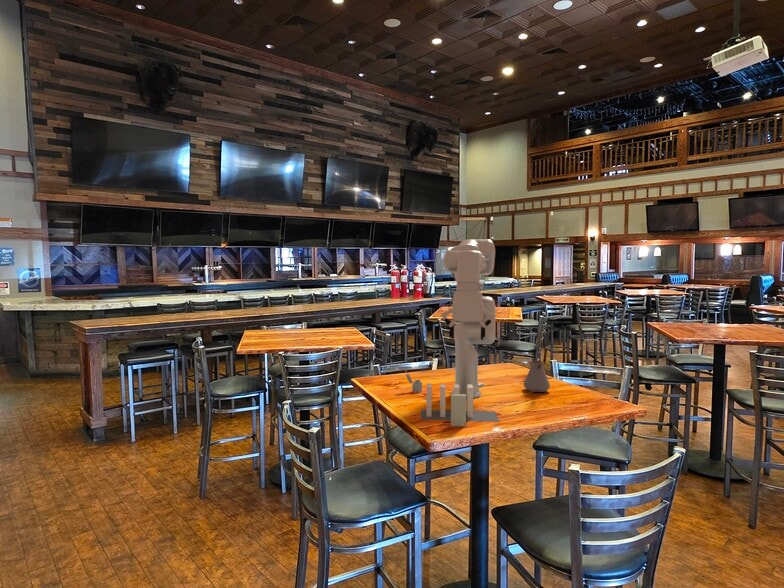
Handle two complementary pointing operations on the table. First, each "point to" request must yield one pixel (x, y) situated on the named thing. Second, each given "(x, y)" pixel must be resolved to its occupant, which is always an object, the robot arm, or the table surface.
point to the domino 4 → (458, 409)
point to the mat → (477, 416)
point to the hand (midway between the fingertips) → (467, 338)
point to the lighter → (415, 384)
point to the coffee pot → (536, 378)
